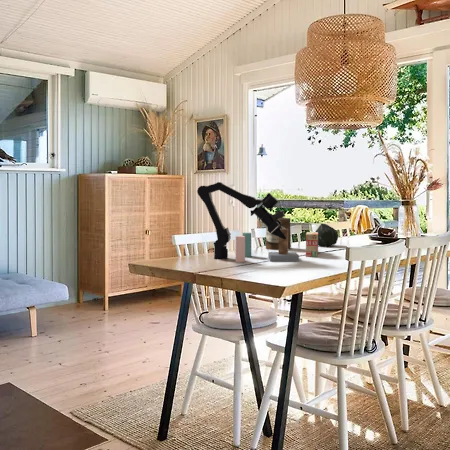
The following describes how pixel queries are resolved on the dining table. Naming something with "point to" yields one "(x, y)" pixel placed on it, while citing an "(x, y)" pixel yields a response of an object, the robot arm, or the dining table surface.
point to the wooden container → (273, 240)
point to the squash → (326, 235)
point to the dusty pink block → (240, 248)
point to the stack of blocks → (311, 244)
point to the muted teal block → (247, 244)
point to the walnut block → (283, 243)
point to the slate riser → (283, 256)
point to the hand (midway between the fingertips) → (286, 237)
